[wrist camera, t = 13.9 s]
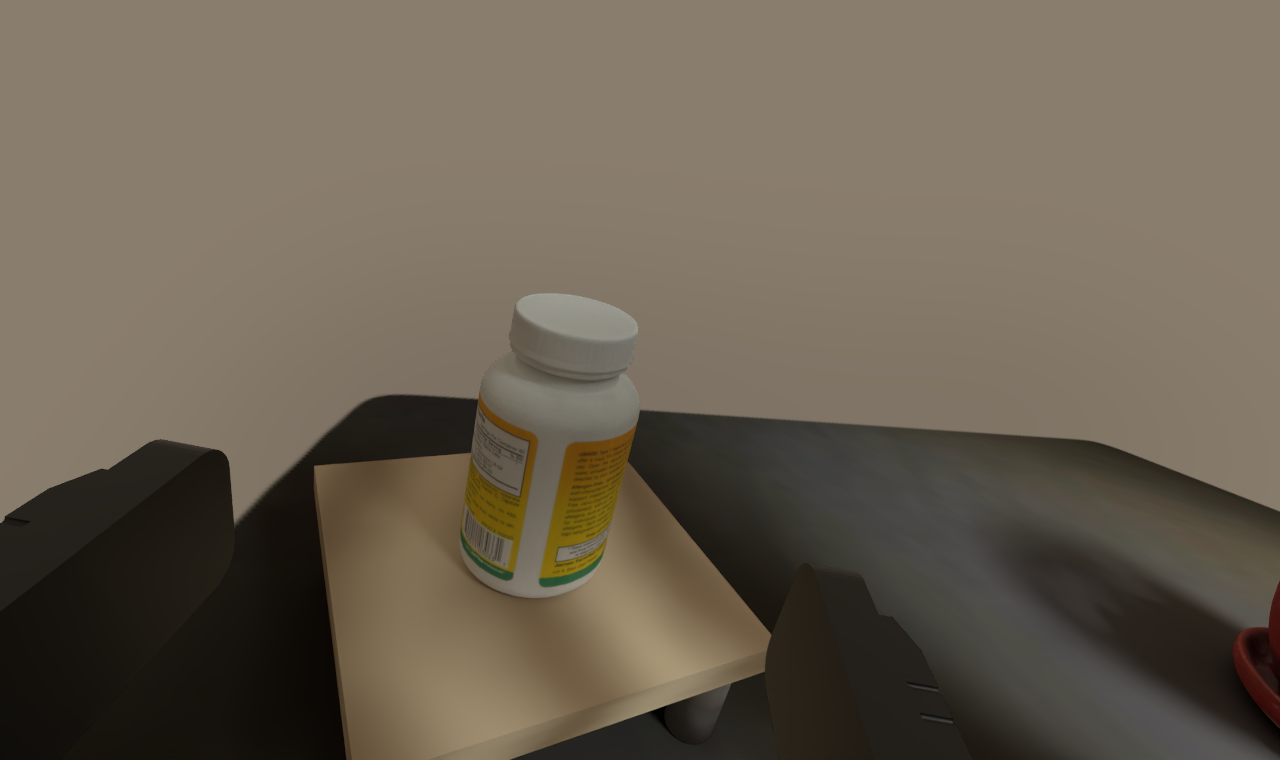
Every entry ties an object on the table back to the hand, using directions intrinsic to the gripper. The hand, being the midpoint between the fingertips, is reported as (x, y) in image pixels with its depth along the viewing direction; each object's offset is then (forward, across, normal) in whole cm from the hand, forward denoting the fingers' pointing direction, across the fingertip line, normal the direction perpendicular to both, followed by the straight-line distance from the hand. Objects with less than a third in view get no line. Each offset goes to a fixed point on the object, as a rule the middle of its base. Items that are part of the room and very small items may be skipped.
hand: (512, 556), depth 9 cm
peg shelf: (+12, +1, +16) cm, 20 cm away
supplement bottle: (+12, +1, +11) cm, 16 cm away
